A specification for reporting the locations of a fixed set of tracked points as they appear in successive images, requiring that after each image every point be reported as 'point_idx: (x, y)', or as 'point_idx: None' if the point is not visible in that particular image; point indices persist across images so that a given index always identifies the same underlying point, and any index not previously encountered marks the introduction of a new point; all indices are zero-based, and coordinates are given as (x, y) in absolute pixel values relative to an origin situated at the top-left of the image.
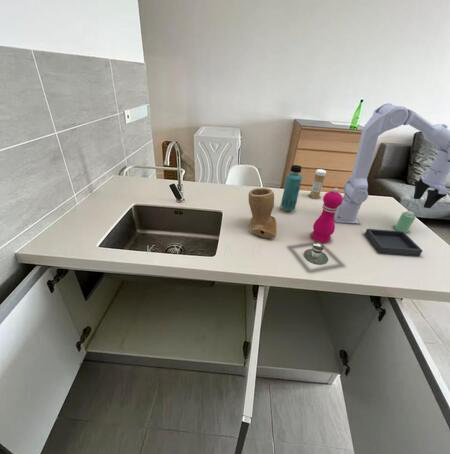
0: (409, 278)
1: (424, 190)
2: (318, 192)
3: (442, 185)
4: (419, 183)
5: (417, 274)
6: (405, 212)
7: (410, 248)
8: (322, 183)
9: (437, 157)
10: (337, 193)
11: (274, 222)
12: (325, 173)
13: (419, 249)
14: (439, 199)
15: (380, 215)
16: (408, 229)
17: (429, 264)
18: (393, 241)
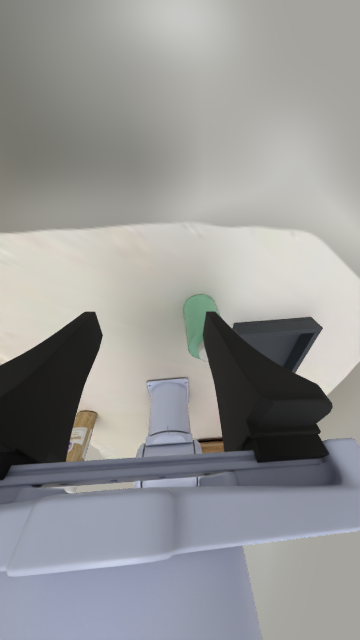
0: (349, 354)
1: (59, 360)
2: (90, 427)
3: (246, 518)
4: (58, 457)
5: (349, 341)
6: (192, 350)
7: (307, 346)
8: (77, 451)
9: None
10: None
11: (215, 447)
12: (66, 487)
13: (316, 332)
14: (262, 355)
15: (123, 329)
16: (215, 306)
17: (340, 310)
18: (256, 346)
